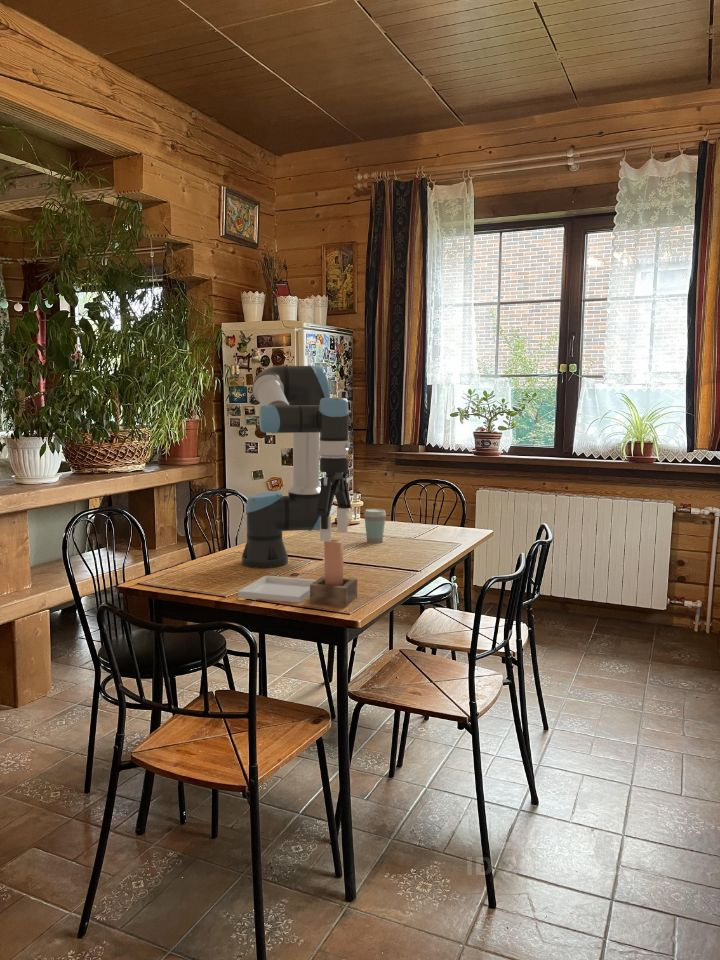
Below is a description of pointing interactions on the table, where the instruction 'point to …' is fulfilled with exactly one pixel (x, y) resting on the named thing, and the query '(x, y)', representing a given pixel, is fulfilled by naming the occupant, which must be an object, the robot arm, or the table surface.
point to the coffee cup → (374, 525)
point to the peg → (333, 562)
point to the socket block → (333, 592)
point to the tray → (277, 589)
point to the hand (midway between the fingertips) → (334, 536)
